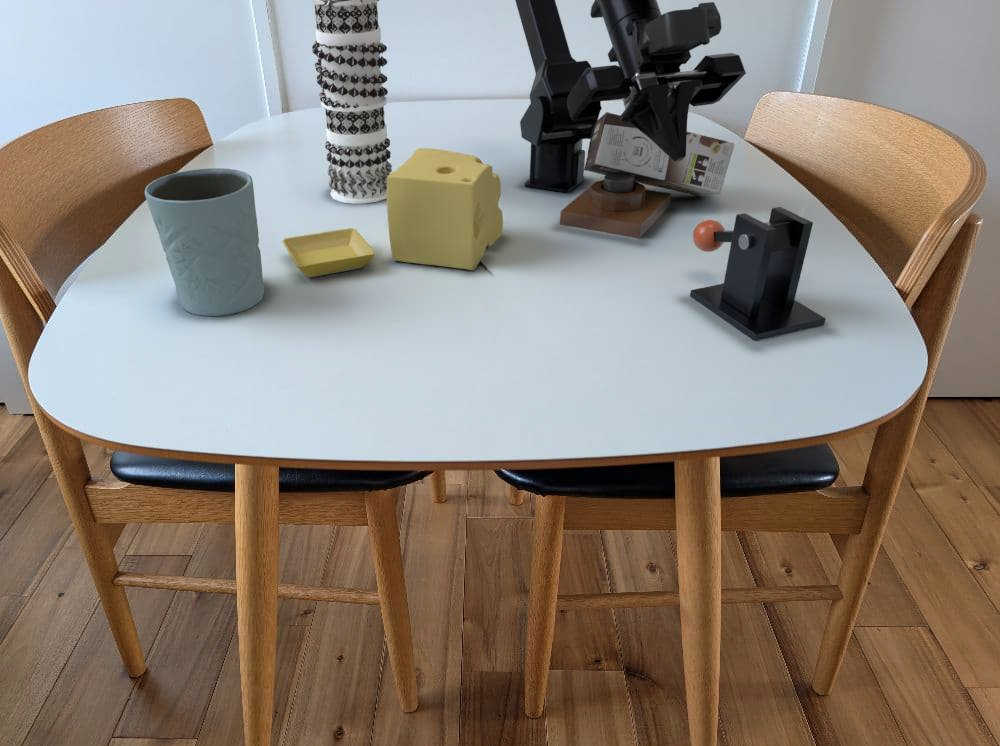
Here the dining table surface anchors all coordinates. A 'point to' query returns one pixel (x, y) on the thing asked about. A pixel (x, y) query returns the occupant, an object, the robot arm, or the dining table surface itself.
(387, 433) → the dining table surface
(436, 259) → the cheese
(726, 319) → the bracket
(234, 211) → the grey green cup
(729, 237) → the lever
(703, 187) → the coffee box
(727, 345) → the dining table surface
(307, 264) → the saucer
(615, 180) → the button
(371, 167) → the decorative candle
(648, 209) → the button block
